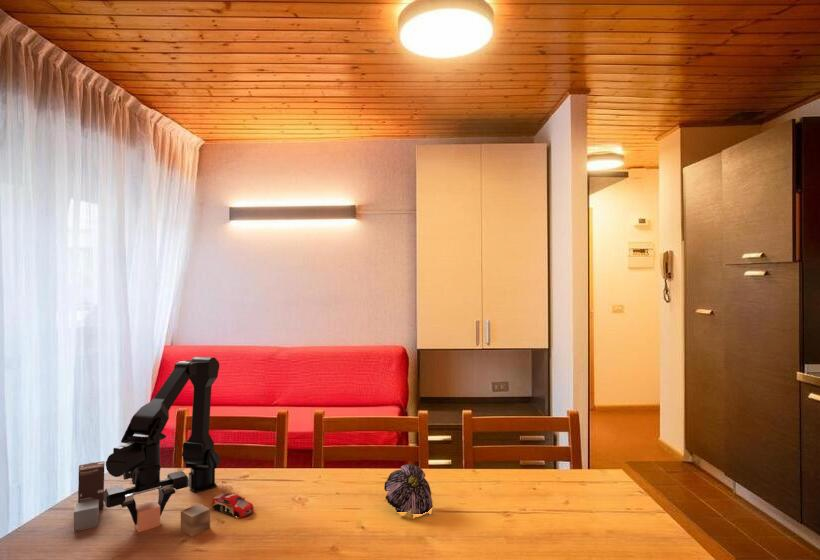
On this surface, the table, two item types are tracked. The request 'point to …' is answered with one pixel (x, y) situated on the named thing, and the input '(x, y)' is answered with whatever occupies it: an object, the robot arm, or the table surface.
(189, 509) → the metal block
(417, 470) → the decorative flower
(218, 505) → the race car
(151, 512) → the terracotta block
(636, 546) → the table surface
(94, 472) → the box
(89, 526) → the gray block
